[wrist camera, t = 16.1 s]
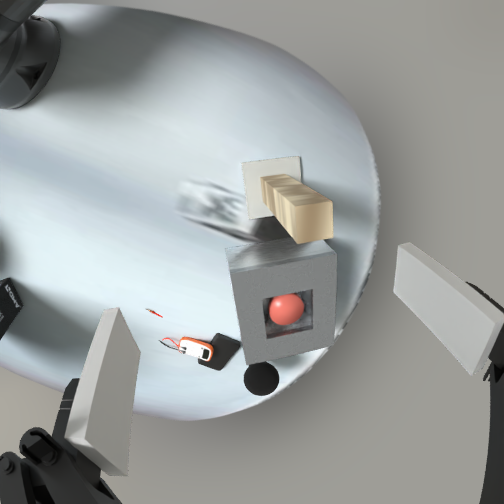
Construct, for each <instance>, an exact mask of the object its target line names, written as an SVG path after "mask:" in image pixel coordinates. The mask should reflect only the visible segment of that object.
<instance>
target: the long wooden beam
mask: <svg viewBox="0 0 504 504" xmlns="http://www.w3.org/2000/svg"><path fill="white" fill-rule="evenodd" d="M260 181H261V189H262V198H263V202H264V204H265V205H266V206H267V207H268V208H269V210H270V211H271V212H272V213H273V214H274V216H275V217H276V218H277V219H278V221H279V222H280V223H281V224H282V225H283V227H284V228H285V229H286V230H287V232H288V233H289V234H290V235H291V237H292V238H293V239H294V240H295V241H296V243H297V244H301V243H306V242H312V241H318V240H324V239H329V238H333V204H332V201H331V200H329V199H328V198H326V197H324V196H323V195H321V194H319V193H318V192H316V191H314V190H313V189H311V188H309V187H307V186H306V185H304V184H302V183H300V182H299V181H297V180H295V179H293V178H292V177H290V176H288V175H286V174H279V175H271V176H264V177H260Z"/></svg>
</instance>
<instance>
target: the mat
mask: <svg viewBox="0 0 504 504" xmlns="http://www.w3.org/2000/svg"><path fill="white" fill-rule="evenodd" d="M241 164H242V172H243V179H244V187H245V195H246V203H247V211H248V218H249V219H255V218H261V217H268V216H274V214H273V213H272V212H271V211H270V210H269V208H268V207H267V206H266V205H265V204H264V202H263V198H262V189H261V181H260V177H264V176H271V175H279V174H286V175H288V176H290V177H292V178H293V179H295V180H297V181H299V182H300V183H301V171H300V159H299V156H293V157H284V158H275V159H266V160H258V161H251V162H244V163H241Z"/></svg>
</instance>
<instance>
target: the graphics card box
mask: <svg viewBox="0 0 504 504" xmlns="http://www.w3.org/2000/svg"><path fill="white" fill-rule="evenodd" d="M22 308H23V303H22V301H21V300H20V298H19V296H18V294H17V292H16V290H15V289H14V287H13V285H12V283H11V281H10V279H9V278H6V279H3V280H1V281H0V340H1V338H2V337H3V335H4V334H5V332H6V331H7V329H8V328H9V326H10V325H11V323H12V322H13V320H14V319H15V317H16V316H17V315H18V313H19V312H20V310H21V309H22Z"/></svg>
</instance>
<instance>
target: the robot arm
mask: <svg viewBox="0 0 504 504" xmlns="http://www.w3.org/2000/svg"><path fill="white" fill-rule="evenodd" d="M46 1H47V0H0V109H14V108H18V107H20V106H22V105H24V104H26V103H28V102H29V101H30V100H32V99H33V98H34V97H35V96H36V95H37V94H38V93H39V92H40V91H41V90H42V88H43V87H44V86H45V85H46V83H47V82H48V80H49V78H50V77H51V75H52V73H53V71H54V69H55V66H56V63H57V60H58V57H59V52H60V36H59V32H58V30H57V28H56V26H55V25H54V24H53V23H52V22H50V21H49V20H47V19H45V18H43V17H41V16H35V15H32V14H33V13H34V12H35V11H36V10H37V9H38V8H39V7H40V6H42V5H43V4H44V3H45V2H46ZM31 15H32V16H31ZM393 292H394V293H395V294H396V295H397V296H398V297H399V298H400V300H401V301H402V302H404V304H405V305H407V307H409V309H410V310H411V311H412V312H414V314H415V315H416V316H417V317H418V318H419V319H420V320H421V321H422V322H423V323H424V324H425V325H426V326H427V327H428V328H429V329H430V330H431V332H432V333H433V334H434V335H435V336H436V337H437V338H438V339H439V340H440V341H441V342H442V343H443V345H444V346H445V347H446V348H447V349H448V350H449V351H450V352H451V353H452V354H453V356H454V357H455V358H456V359H457V360H458V361H459V362H460V364H462V366H463V367H464V368H465V369H466V370H467V372H468V373H469V374H470V375H471V376H472V375H474V374H475V373H476V372H478V371H479V370H481V369H482V368H483V367H484V365H485V363H486V361H487V359H488V358H489V359H490V360H491V361H492V362H491V364H490V366H489V368H488V370H487V372H486V373H485V375H484V378H483V381H485V380H486V378H487V377H488V375H489V374H490V378H489V380H488V381H490V401H491V402H490V404H491V405H490V432H489V446H488V456H487V464H486V471H485V478H484V484H483V489H482V494H481V499H480V503H479V504H504V308H503V307H502V306H500V305H499V304H498V303H497V302H495V301H494V300H493V299H492V298H491V299H490V297H489V296H488V295H487V294H486V293H485V294H484V292H483V291H482V290H481V289H479V288H478V287H477V286H475V285H473V284H471V283H468V282H464V281H463V280H462V279H460V278H459V277H457V276H456V275H455V274H454V273H452V272H451V271H450V270H448V269H447V268H446V267H444V266H443V265H442V264H440V263H439V262H438V261H436V260H435V259H433V258H432V257H431V256H429V255H428V254H426V253H425V252H423V251H422V250H420V249H419V248H418V247H416V246H415V245H413V244H412V243H411V242H408V243H405V244H400V245H398V252H397V263H396V273H395V282H394V290H393ZM140 353H141V352H140V350H139V348H138V346H137V344H136V342H135V340H134V338H133V336H132V334H131V332H130V330H129V328H128V326H127V324H126V322H125V320H124V317H123V315H122V313H121V311H120V309H119V307H116V308H111V309H106V310H104V311H103V314H102V316H101V319H100V321H99V324H98V327H97V329H96V332H95V335H94V338H93V341H92V343H91V346H90V349H89V352H88V355H87V358H86V361H85V364H84V367H83V371H82V374H81V377H80V378H77V379H72V380H71V382H70V383H69V384H68V386H67V387H66V389H65V392H64V395H63V398H62V400H63V401H62V402H61V405H60V410H59V412H58V415H57V419H56V422H55V426H54V430H53V434H52V436H50V435H49V434H48V433H47V432H46V431H45V430H44V429H42V428H39V427H38V428H37V427H35V428H32V429H29V430H28V431H27V432H26V433H25V434H24V435H23V436H22V438H21V440H20V445H19V448H20V453H21V454H22V455H23V456H25V457H26V458H23V459H21V458H20V457H18V456H17V455H16V454H15V453H13V452H5V453H4V454H2V455H1V456H0V501H1V504H122V503H121V502H120V500H119V499H118V498H117V497H116V495H115V494H114V493H113V492H112V490H111V489H110V488H109V486H108V485H107V484H106V483H105V481H104V480H103V479H102V478H100V472H101V470H102V471H104V472H105V473H106V474H108V475H110V476H128V461H129V446H130V434H131V423H132V413H133V404H134V395H135V387H136V380H137V373H138V366H139V359H140Z"/></svg>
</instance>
